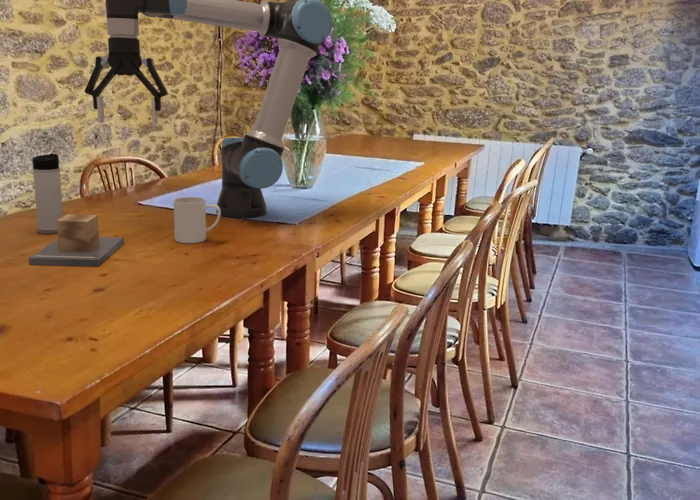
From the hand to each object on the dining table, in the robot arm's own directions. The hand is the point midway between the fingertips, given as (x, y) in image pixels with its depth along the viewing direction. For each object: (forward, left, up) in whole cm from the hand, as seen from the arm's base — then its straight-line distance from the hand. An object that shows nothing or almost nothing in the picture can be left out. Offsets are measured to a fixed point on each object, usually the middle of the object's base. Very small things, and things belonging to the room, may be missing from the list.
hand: (128, 123), depth 176 cm
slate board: (+6, +24, -28) cm, 37 cm away
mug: (-19, +9, -29) cm, 35 cm away
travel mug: (+20, +4, -29) cm, 35 cm away
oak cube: (+6, +23, -27) cm, 36 cm away
